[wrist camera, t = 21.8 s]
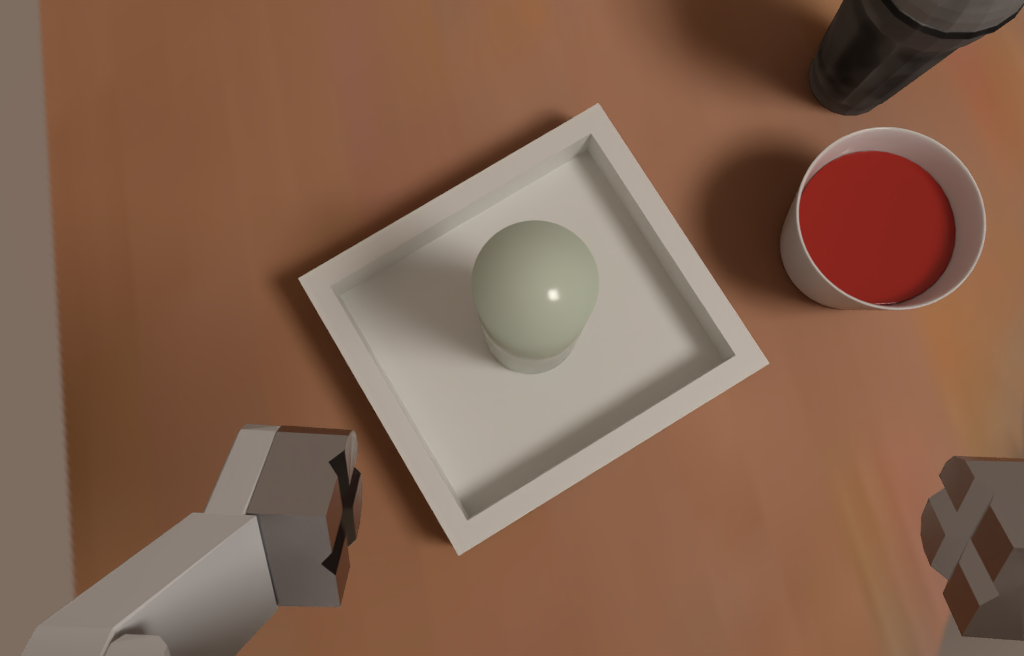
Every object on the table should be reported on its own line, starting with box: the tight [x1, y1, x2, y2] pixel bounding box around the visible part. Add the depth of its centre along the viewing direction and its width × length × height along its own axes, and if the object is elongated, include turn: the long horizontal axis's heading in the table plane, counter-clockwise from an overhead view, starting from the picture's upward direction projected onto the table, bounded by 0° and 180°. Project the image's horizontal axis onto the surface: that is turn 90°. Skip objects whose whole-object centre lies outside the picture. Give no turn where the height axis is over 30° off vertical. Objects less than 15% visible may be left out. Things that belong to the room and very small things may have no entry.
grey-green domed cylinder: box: [471, 220, 599, 374], centre depth 39 cm, size 5×5×12 cm
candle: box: [780, 127, 986, 310], centre depth 43 cm, size 9×9×6 cm
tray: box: [298, 103, 769, 556], centre depth 44 cm, size 18×16×4 cm
